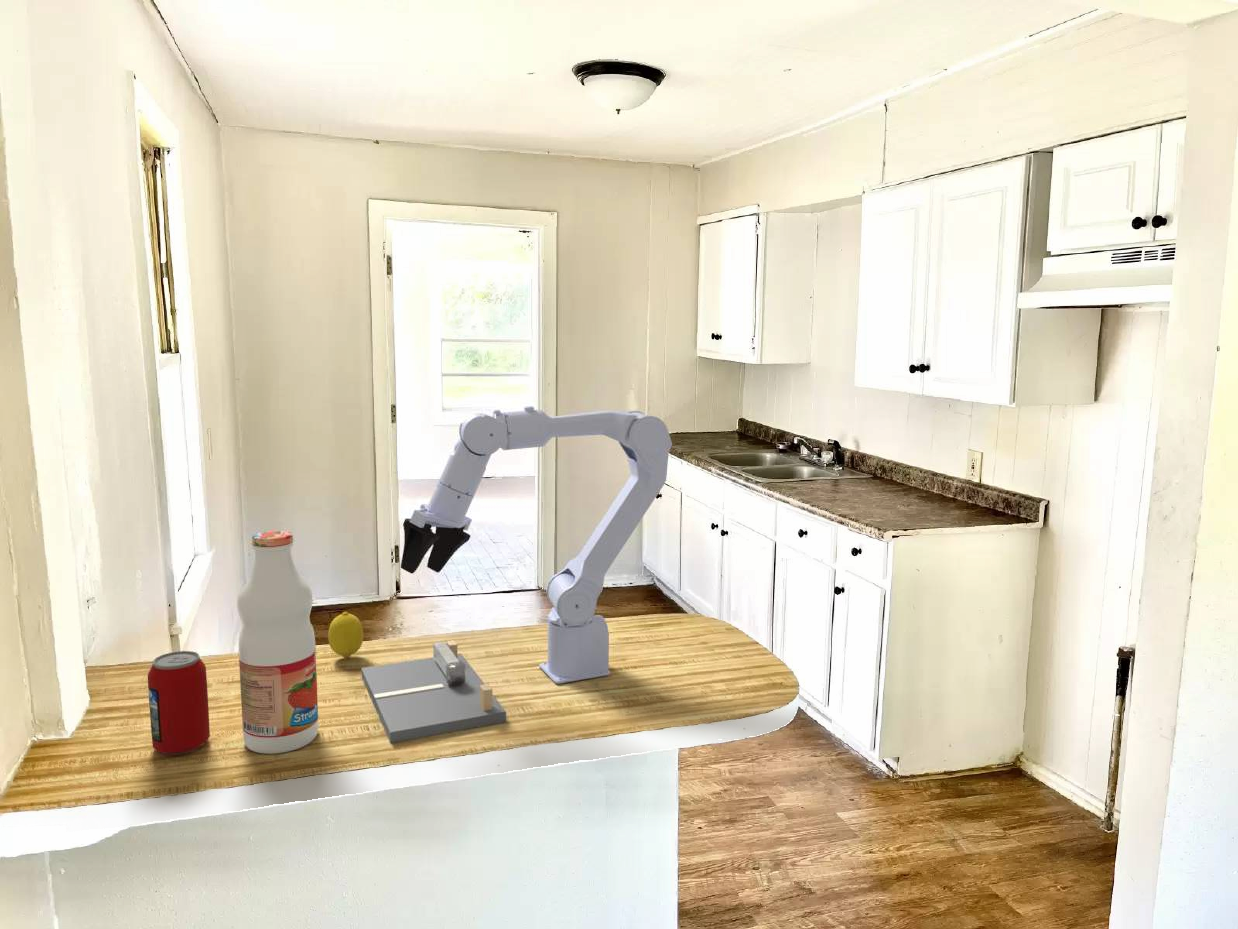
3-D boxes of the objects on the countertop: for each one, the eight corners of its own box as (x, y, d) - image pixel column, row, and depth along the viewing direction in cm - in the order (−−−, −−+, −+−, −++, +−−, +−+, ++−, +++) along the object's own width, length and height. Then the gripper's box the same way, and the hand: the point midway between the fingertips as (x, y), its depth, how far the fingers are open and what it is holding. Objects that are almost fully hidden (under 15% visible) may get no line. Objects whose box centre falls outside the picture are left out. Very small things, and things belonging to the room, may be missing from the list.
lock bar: (467, 683, 129) (467, 667, 129) (449, 686, 128) (448, 670, 128) (447, 656, 140) (447, 641, 140) (430, 658, 139) (430, 643, 138)
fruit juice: (251, 726, 119) (240, 527, 114) (322, 720, 121) (315, 525, 116) (236, 759, 110) (224, 544, 105) (314, 752, 112) (305, 542, 107)
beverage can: (166, 734, 116) (160, 649, 114) (218, 733, 116) (213, 648, 115) (143, 759, 109) (136, 669, 107) (198, 758, 110) (192, 668, 108)
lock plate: (461, 662, 143) (460, 636, 142) (506, 721, 121) (505, 691, 121) (361, 677, 136) (360, 649, 135) (390, 743, 114) (389, 711, 114)
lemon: (353, 666, 140) (352, 618, 139) (322, 663, 141) (320, 616, 140) (370, 653, 146) (368, 608, 144) (340, 651, 147) (338, 605, 145)
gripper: (458, 481, 138) (424, 558, 138) (410, 473, 124) (372, 558, 125) (494, 499, 136) (459, 577, 136) (449, 493, 122) (410, 580, 122)
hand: (420, 570), depth 130 cm, fingers open, 7 cm apart
